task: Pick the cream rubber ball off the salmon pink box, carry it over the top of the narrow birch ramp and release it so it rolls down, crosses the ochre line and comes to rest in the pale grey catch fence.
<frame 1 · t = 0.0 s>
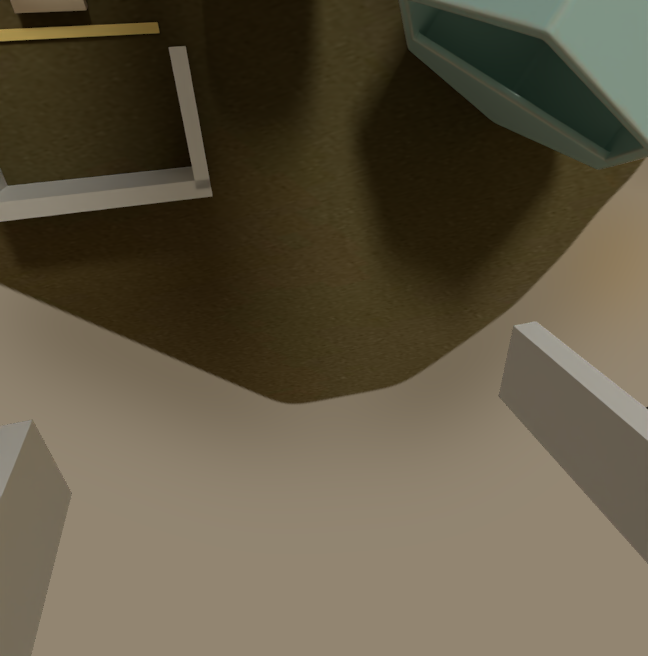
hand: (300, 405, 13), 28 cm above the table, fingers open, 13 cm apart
catch fence: (106, 183, 34), on the table
hexagonal wall shelf: (475, 35, 35), on the table
line: (60, 32, 29), on the table
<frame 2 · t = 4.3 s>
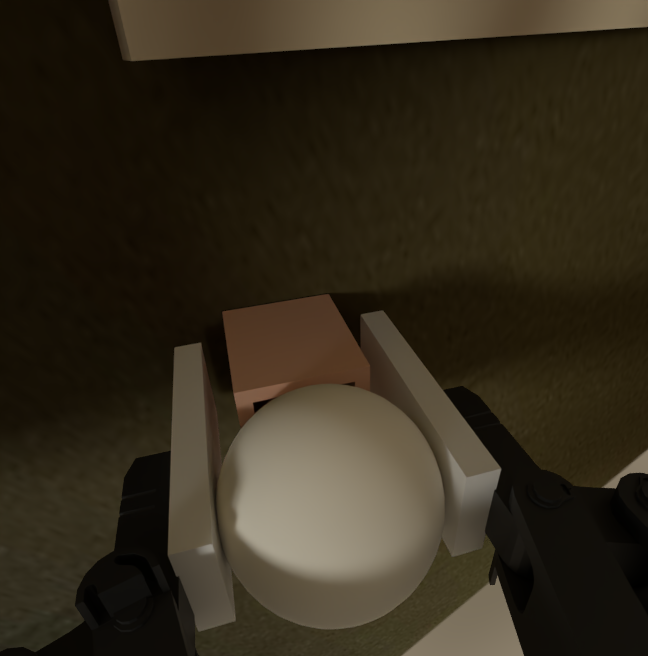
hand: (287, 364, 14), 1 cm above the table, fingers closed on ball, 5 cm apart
ball: (329, 495, 10), point 6 cm above the table, touching gripper, salmon pink box
salmon pink box: (281, 346, 15), on the table
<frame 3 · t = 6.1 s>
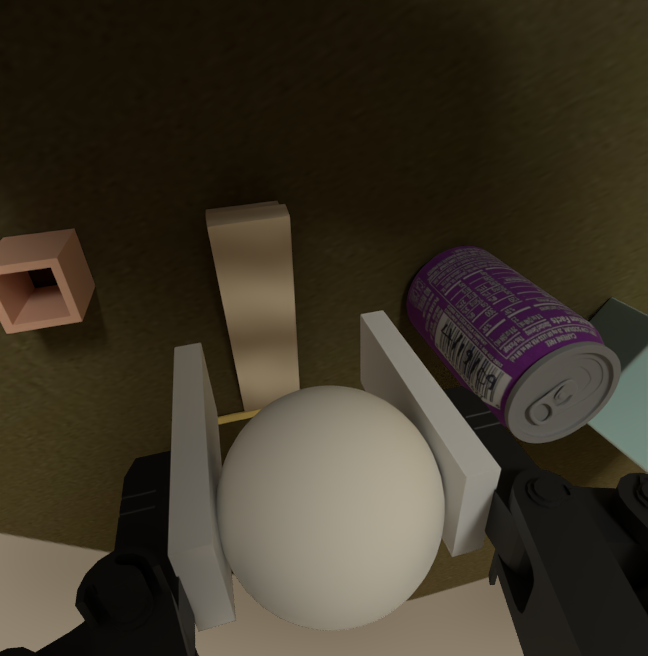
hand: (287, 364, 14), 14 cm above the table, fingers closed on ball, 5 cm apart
hexagonal wall shelf: (603, 348, 40), on the table
beverage can: (447, 287, 32), on the table
line: (272, 408, 34), on the table
ball: (329, 497, 10), point 19 cm above the table, touching gripper
ramp: (257, 309, 29), on the table
salmon pink box: (51, 262, 25), on the table
when the fingers open (2 cm above the table, at t = 8.0 s): ball drops 5 cm and tips over, point 2 cm above the table.
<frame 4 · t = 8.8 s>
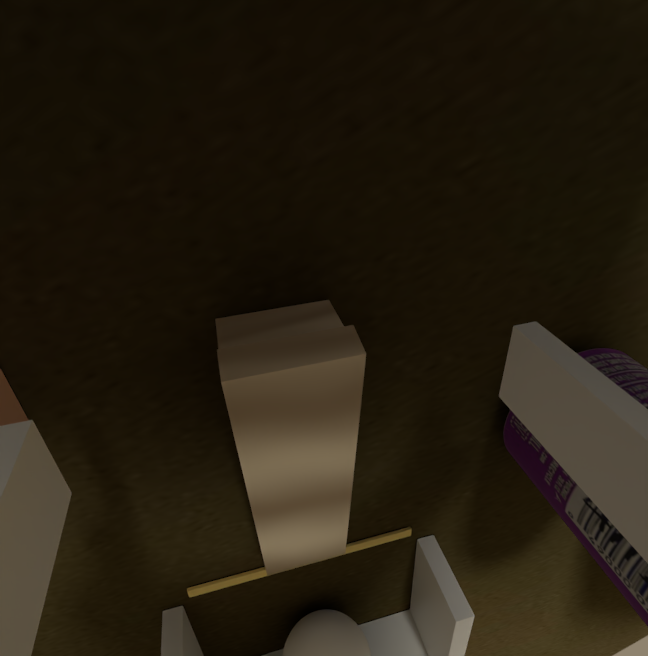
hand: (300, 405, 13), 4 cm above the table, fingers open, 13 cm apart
catch fence: (314, 643, 29), on the table
beverage can: (556, 396, 23), on the table
line: (304, 559, 24), on the table
ramp: (290, 446, 19), on the table
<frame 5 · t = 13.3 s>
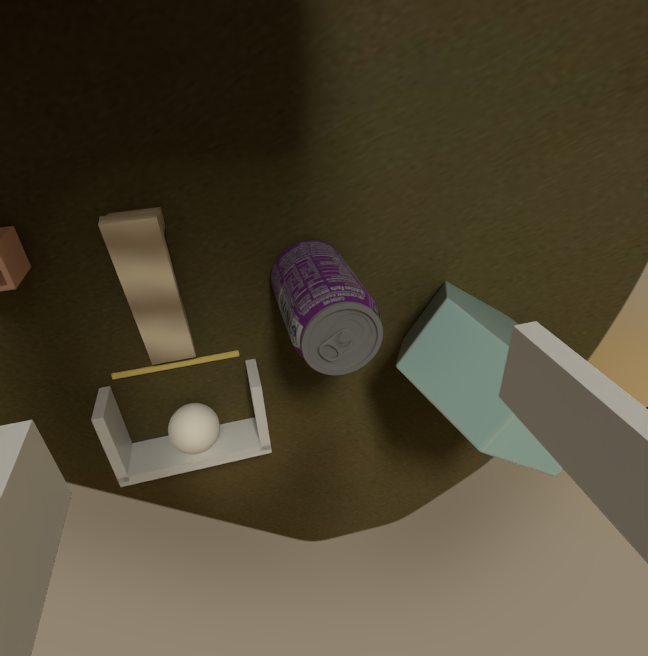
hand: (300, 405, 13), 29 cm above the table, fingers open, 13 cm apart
catch fence: (196, 433, 49), on the table
hexagonal wall shelf: (451, 323, 51), on the table
beverage can: (306, 272, 43), on the table
line: (177, 364, 44), on the table
ball: (194, 428, 46), point 2 cm above the table, tilted 156°
ramp: (155, 286, 40), on the table
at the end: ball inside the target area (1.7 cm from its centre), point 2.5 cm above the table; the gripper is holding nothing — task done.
